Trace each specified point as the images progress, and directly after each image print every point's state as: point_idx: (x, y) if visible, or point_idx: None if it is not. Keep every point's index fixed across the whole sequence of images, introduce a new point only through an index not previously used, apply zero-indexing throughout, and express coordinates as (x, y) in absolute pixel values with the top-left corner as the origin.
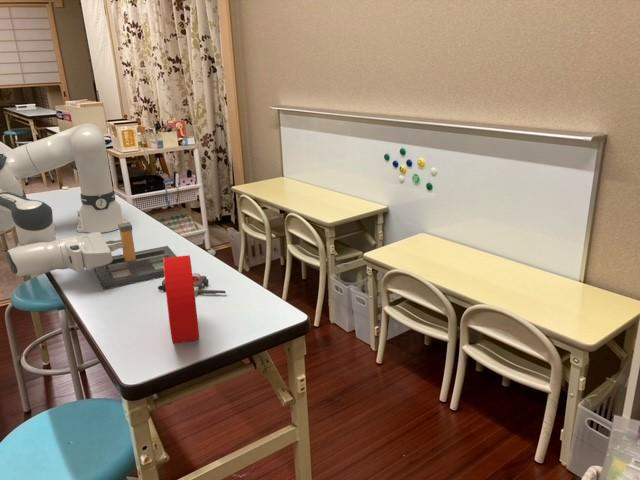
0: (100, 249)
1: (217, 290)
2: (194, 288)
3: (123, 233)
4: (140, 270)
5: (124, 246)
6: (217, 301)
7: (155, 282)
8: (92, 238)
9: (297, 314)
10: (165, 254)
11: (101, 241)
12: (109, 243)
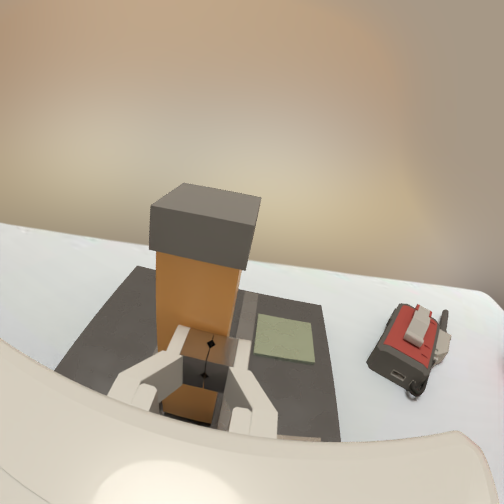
0: (427, 495)
1: (445, 315)
2: (445, 335)
3: (239, 273)
4: (287, 400)
5: None
6: (459, 331)
7: (352, 394)
8: (11, 443)
9: (478, 291)
10: (250, 297)
11: (184, 454)
12: (157, 399)
